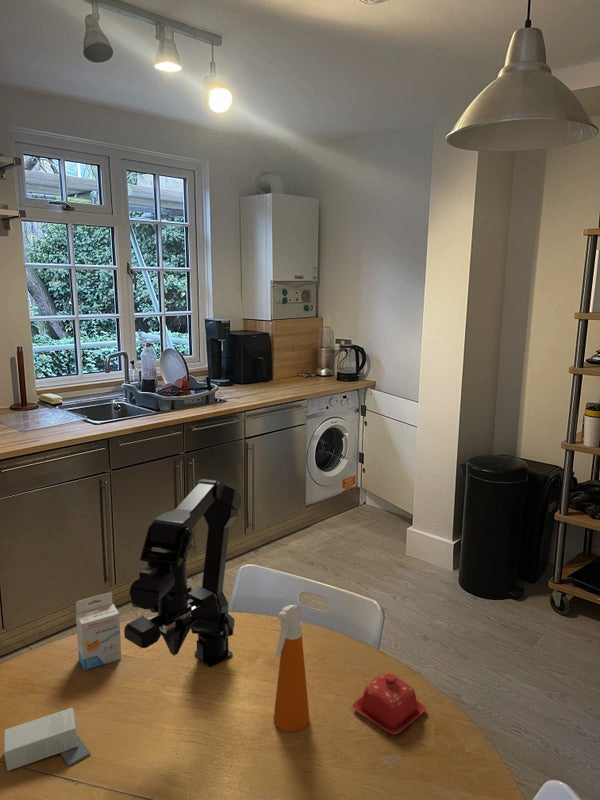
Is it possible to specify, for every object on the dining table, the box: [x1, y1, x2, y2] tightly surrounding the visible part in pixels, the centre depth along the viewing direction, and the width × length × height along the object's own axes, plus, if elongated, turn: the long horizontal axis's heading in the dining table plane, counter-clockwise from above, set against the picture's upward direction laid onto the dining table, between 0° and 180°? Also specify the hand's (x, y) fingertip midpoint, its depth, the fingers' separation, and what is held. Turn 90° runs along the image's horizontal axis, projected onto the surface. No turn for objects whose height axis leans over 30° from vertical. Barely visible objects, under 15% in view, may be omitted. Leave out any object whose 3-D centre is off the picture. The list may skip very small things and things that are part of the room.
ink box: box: [75, 591, 122, 671], centre depth 135 cm, size 8×5×15 cm, turn 123°
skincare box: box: [3, 707, 79, 772], centre depth 110 cm, size 6×4×12 cm
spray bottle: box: [273, 604, 310, 733], centre depth 114 cm, size 7×11×26 cm, turn 158°
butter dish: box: [351, 672, 427, 735], centre depth 120 cm, size 12×12×8 cm
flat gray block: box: [59, 736, 91, 767], centre depth 110 cm, size 4×7×1 cm, turn 43°
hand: (174, 654), depth 118 cm, fingers closed
